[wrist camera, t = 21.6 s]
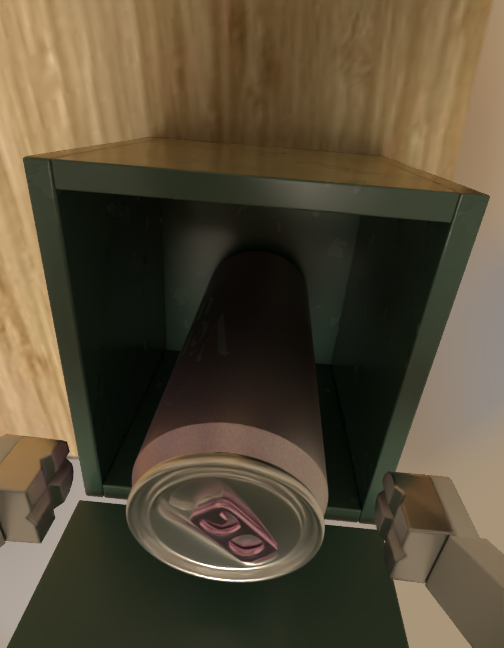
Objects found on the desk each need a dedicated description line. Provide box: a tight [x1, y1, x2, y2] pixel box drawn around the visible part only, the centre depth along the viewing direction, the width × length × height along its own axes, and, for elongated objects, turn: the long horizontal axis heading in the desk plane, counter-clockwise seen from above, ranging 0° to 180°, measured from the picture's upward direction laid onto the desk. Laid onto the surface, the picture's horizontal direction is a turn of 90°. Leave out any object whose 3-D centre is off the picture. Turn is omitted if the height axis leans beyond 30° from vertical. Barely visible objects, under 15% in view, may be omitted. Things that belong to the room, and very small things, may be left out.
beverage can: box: [126, 251, 328, 583], centre depth 17 cm, size 6×6×15 cm
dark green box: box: [23, 137, 490, 525], centre depth 19 cm, size 14×13×12 cm
